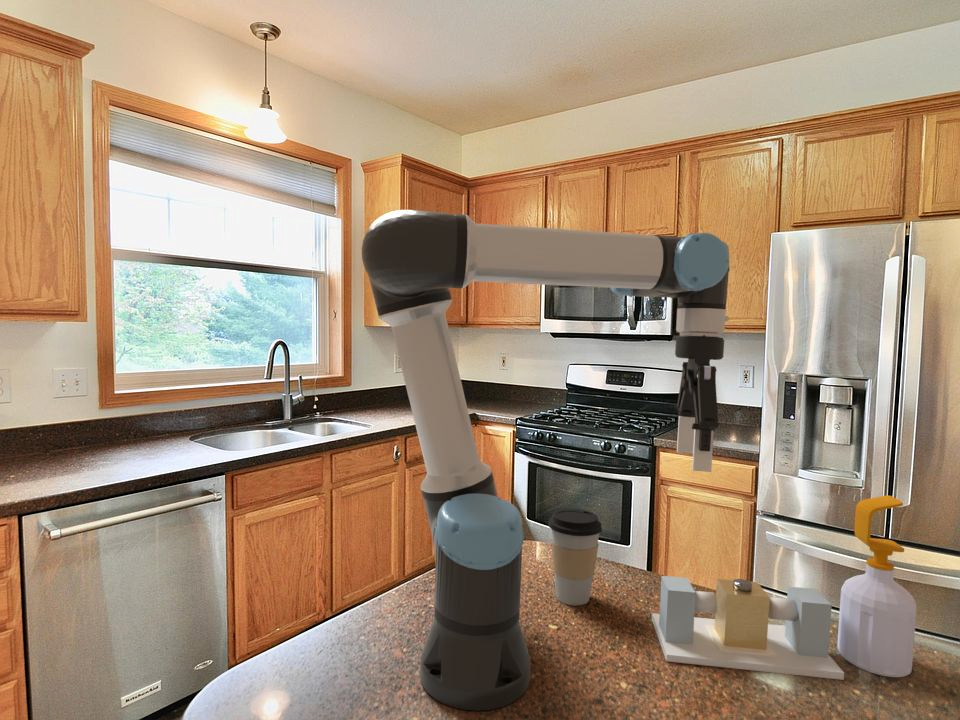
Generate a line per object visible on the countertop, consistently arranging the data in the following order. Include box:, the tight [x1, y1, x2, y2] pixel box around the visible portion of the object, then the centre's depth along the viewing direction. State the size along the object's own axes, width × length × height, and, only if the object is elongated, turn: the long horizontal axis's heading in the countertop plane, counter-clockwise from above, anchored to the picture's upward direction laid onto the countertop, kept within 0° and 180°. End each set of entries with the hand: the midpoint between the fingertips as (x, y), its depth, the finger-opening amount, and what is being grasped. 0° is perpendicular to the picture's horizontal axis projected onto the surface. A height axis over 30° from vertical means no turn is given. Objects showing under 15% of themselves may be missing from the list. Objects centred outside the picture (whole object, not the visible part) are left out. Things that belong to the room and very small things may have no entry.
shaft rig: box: [651, 575, 845, 681], centre depth 85 cm, size 24×12×9 cm, turn 82°
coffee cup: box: [547, 507, 603, 607], centre depth 99 cm, size 9×9×15 cm
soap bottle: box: [836, 495, 918, 678], centre depth 82 cm, size 9×9×25 cm
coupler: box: [714, 578, 770, 650], centre depth 85 cm, size 5×6×9 cm
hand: (692, 461), depth 93 cm, fingers open, 13 cm apart
